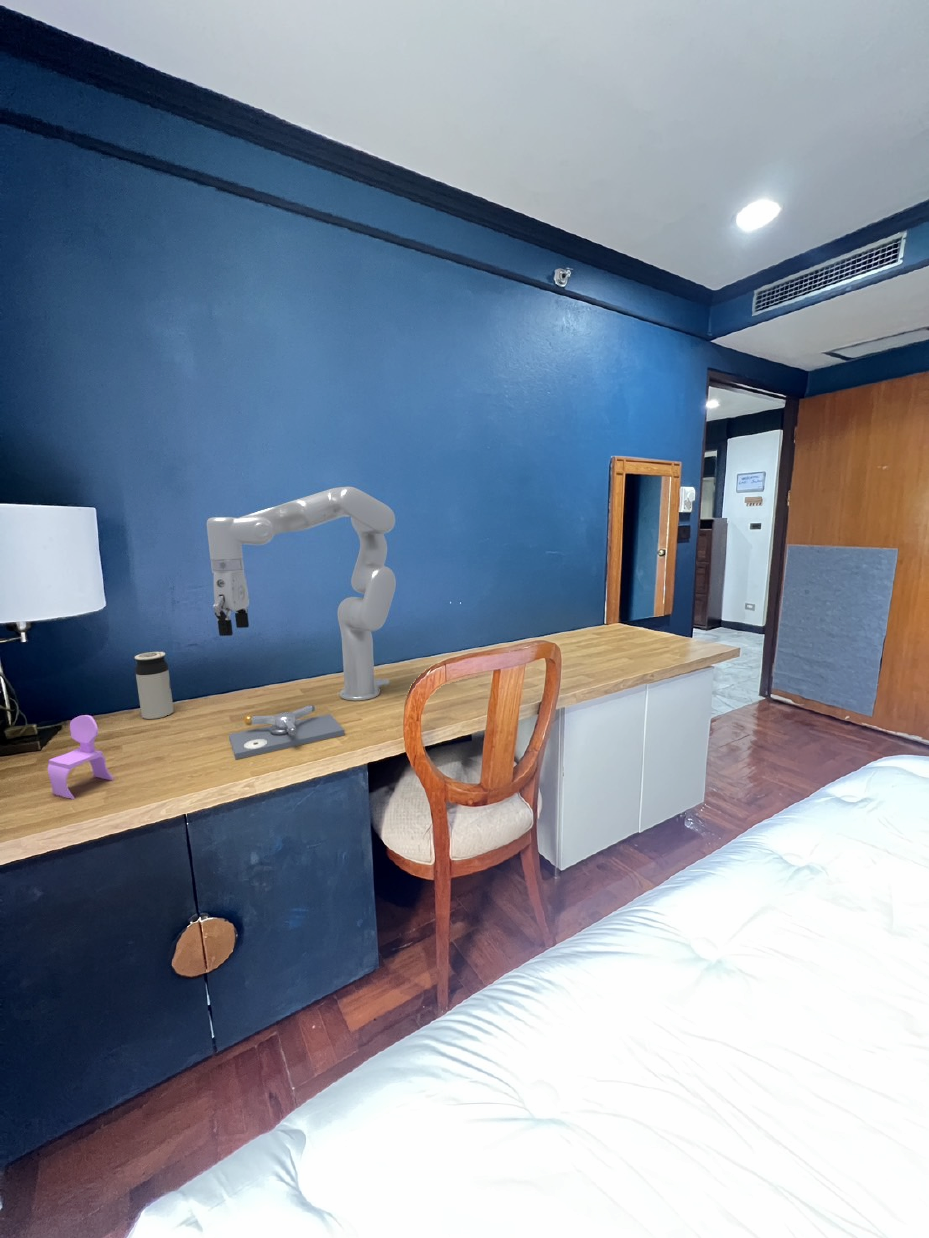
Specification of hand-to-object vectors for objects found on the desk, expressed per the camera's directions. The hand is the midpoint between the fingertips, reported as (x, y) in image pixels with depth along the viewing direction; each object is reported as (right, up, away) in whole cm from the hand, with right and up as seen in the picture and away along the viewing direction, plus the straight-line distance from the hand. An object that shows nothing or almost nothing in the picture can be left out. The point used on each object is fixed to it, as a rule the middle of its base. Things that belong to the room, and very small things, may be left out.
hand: (234, 631), depth 130 cm
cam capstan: (+12, -25, -2) cm, 28 cm away
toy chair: (-20, -32, -26) cm, 46 cm away
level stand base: (+15, -27, -3) cm, 31 cm away
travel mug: (-29, -25, +14) cm, 41 cm away
